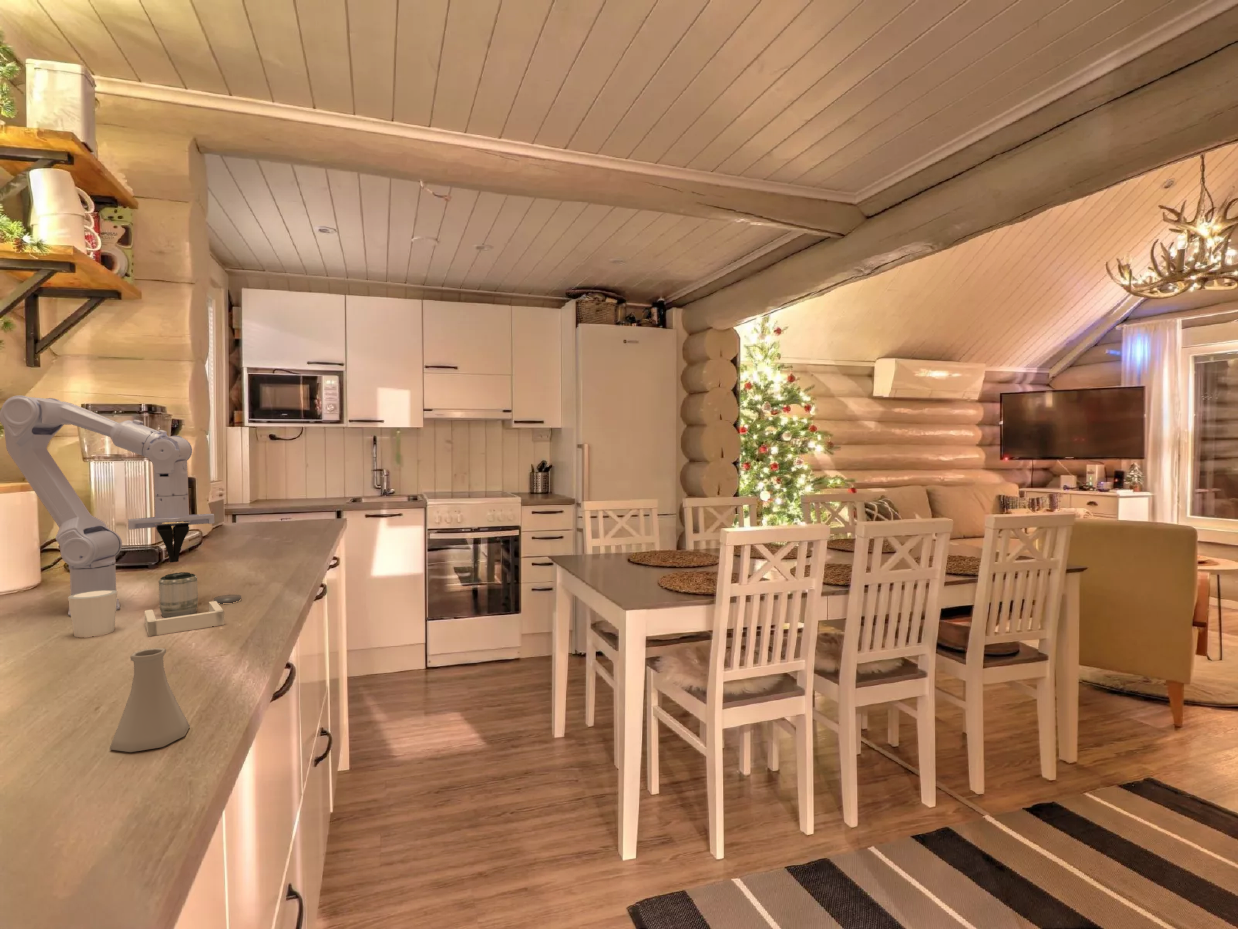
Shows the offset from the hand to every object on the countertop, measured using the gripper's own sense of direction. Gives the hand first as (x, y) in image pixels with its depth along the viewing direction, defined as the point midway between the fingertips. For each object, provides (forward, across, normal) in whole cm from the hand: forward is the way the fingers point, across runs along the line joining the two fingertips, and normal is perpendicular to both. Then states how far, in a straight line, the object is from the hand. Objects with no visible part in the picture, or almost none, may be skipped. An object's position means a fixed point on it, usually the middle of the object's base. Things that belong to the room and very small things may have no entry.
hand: (173, 561), depth 136 cm
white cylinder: (+9, -13, -14) cm, 21 cm away
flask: (+10, -8, -72) cm, 73 cm away
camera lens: (+9, 0, -8) cm, 12 cm away
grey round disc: (+10, +9, -3) cm, 13 cm away
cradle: (+9, 0, -17) cm, 20 cm away
